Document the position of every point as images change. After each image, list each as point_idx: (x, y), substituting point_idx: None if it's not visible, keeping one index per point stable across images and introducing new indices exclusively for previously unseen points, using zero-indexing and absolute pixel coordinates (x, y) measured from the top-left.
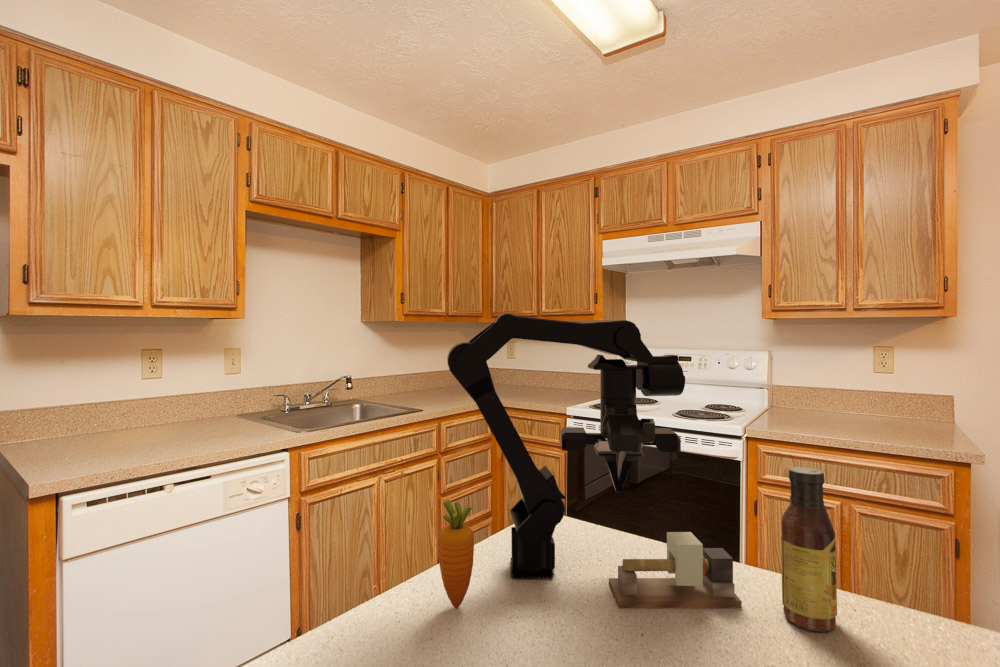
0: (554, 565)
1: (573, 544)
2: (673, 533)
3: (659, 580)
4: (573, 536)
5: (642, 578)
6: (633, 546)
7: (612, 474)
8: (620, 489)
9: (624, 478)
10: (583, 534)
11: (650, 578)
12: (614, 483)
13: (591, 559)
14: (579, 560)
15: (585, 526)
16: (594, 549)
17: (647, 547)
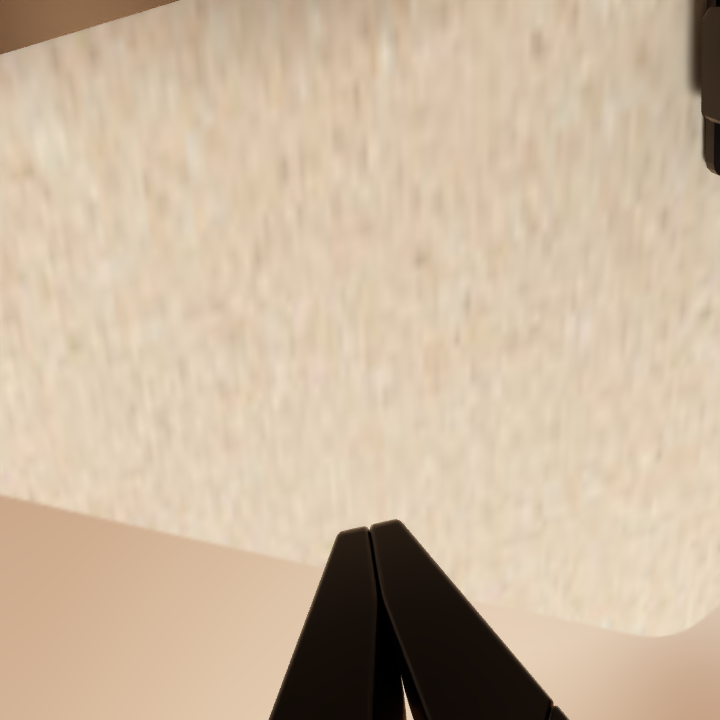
0: (716, 13)
1: (559, 392)
2: None
3: (32, 6)
4: (555, 471)
5: (146, 3)
6: (253, 456)
7: (522, 694)
8: (349, 548)
9: (303, 684)
10: (506, 503)
11: (94, 19)
12: (445, 586)
13: (467, 254)
14: (533, 224)
15: (495, 578)
16: (451, 370)
17: (182, 466)
